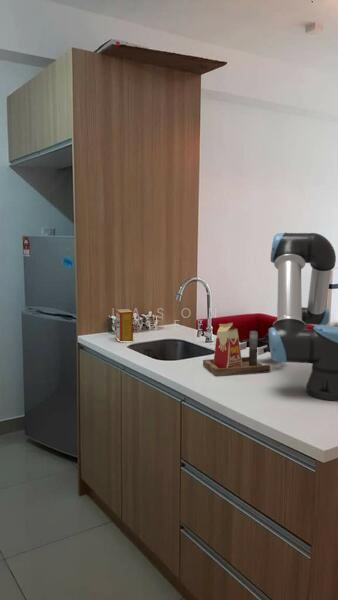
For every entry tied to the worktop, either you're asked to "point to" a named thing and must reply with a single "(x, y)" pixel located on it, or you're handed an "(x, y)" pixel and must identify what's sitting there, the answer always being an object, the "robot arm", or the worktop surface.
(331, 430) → the worktop surface
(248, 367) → the wooden tray
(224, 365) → the milk carton
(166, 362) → the worktop surface
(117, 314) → the baking soda box
